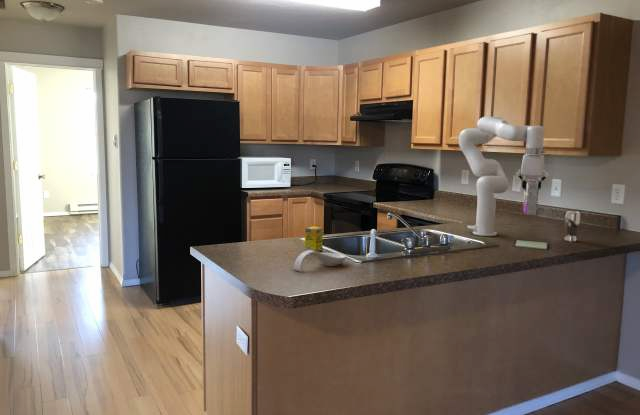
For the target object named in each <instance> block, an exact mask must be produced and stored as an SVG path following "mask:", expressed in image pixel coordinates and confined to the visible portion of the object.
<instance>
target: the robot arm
mask: <svg viewBox="0 0 640 415" xmlns="http://www.w3.org/2000/svg"><path fill="white" fill-rule="evenodd" d="M476 126H477V128H474V127H473V128H472V127H471V128H470V127H469V128H464V129H463V130H461V131H460V133H459V136H458V146H459V149H460V150H461V152H462V153H463V155H464V157H465V158H466V161H467V163H468V165H469V167H470V170H471V172H472V174H473V175H474V176H475V177H478V179H477V181H476V193H477V195H476V196H477V199H476V200H477V201H476V217H475V218H476V220H475V224H474V225H467V227H466V228H467V230H472V234H473V235H475V236H480V237H495V236H497V235H498V232H496V231H495V225H496V224H495V223H496V210H497V209H496V208H497V200H496V197H495V195H494V194H502V193H503V194H504V193H505V192H507V191H508V189H509V180H508V178H507V176H506V174H505V171H504V169H503V168H502V165H501V164H500V162H499V161H497V160H496V159H494V158H493V159H492V158H485V157H484V155H483V152H482V151H481V150H480V148H479V147H477V146H476V145H485V144H488V143H489V142H491V141H492V140H494V139H495V138H496V137H498V138H499V139H503V140H506V141H510V142H525V154H523V156H522V159H521V160H522V162H521V167H520V169H518V170H517V171H516V172H515V173H514V174H515V175H516V176H517V177H518V178H519V179H520V181H522V182H521V188H522V190H523V191H524V189H525V185H526V181H525V179H527V176H530V177H537V179H538V181H539V188H538V191H540V189H542V182H543V181H544V180H546V179H547V178H548V177H550V173H549V172H548V171H547V169H545V167H546V166H545V155H544V154H546V153H547V150H546V149H544V138H545V127H544V126H543V125H521V124H517V125H516V124H509V123H508V121H507V120H505V119H503V118H502V117H500V116H482V117H481V118H479V119H478V121H477V123H476ZM542 176H543V177H542Z"/></svg>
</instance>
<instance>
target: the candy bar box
mask: <svg viewBox="0 0 640 415" xmlns="http://www.w3.org/2000/svg"><path fill="white" fill-rule="evenodd" d="M525 181H526V185H525V189H524V190H523V205H522V212H523V213H524V215H526V216H537V213H538V200H539V199H538V198H539V190H538V188H539V180H536V179H532V178H525Z"/></svg>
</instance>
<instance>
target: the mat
mask: <svg viewBox="0 0 640 415" xmlns="http://www.w3.org/2000/svg"><path fill="white" fill-rule="evenodd" d="M514 246H515V247H517V248H527V249H537V250H548V243H547V242H542V241H530V240H520V239H517V240H516V242H515V244H514Z"/></svg>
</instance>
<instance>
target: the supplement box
mask: <svg viewBox="0 0 640 415" xmlns="http://www.w3.org/2000/svg"><path fill="white" fill-rule="evenodd" d="M323 233H324V228H323V227H320V226H314V225H313V226H309V227H305V228H304V251H307V250H312V251H315V252H320V253H323V247H324V246H323V242H324V241H323V240H324V234H323Z"/></svg>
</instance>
